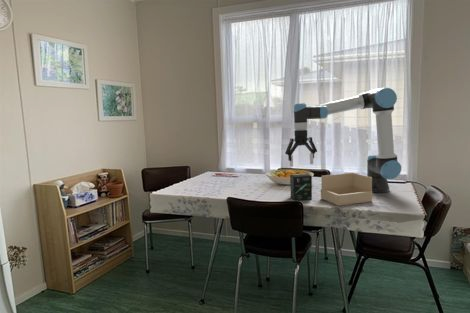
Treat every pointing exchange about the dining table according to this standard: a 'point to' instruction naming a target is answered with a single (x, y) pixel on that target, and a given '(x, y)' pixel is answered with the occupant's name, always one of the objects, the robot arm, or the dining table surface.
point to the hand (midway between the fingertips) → (301, 165)
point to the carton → (346, 189)
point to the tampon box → (301, 186)
